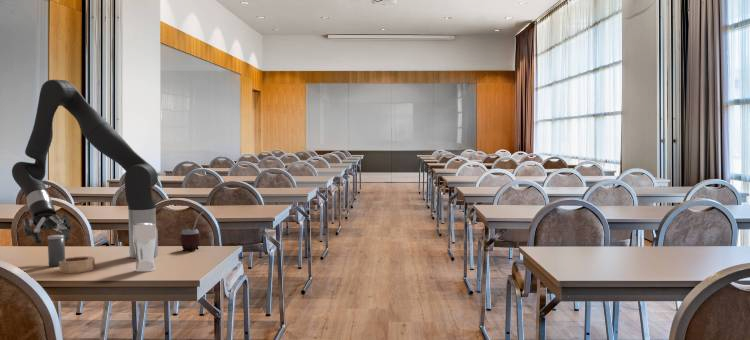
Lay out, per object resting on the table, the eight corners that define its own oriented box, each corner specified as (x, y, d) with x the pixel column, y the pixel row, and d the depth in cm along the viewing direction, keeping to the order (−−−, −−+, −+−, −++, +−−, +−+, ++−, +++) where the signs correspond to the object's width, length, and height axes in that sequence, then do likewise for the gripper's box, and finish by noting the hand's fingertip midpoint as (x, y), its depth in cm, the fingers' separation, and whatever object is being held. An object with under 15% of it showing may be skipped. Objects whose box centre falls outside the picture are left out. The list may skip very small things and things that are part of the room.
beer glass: (134, 273, 194) (132, 225, 193) (133, 269, 200) (132, 223, 199) (157, 271, 197) (156, 224, 196) (156, 267, 203) (154, 221, 202)
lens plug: (67, 263, 211) (66, 234, 211) (62, 266, 206) (61, 236, 206) (51, 264, 210) (50, 235, 210) (46, 267, 205) (45, 237, 205)
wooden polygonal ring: (97, 266, 206) (97, 255, 206) (89, 272, 196) (89, 261, 196) (65, 267, 204) (65, 257, 204) (55, 273, 194) (55, 262, 194)
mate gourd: (178, 250, 235) (177, 211, 235) (198, 247, 240) (197, 209, 239) (185, 252, 229) (184, 212, 229) (205, 250, 234) (204, 211, 233)
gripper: (20, 200, 210) (32, 237, 203) (64, 197, 220) (78, 232, 213) (16, 214, 214) (28, 251, 206) (59, 211, 224) (72, 246, 217)
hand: (53, 241), depth 210 cm, fingers open, 8 cm apart
